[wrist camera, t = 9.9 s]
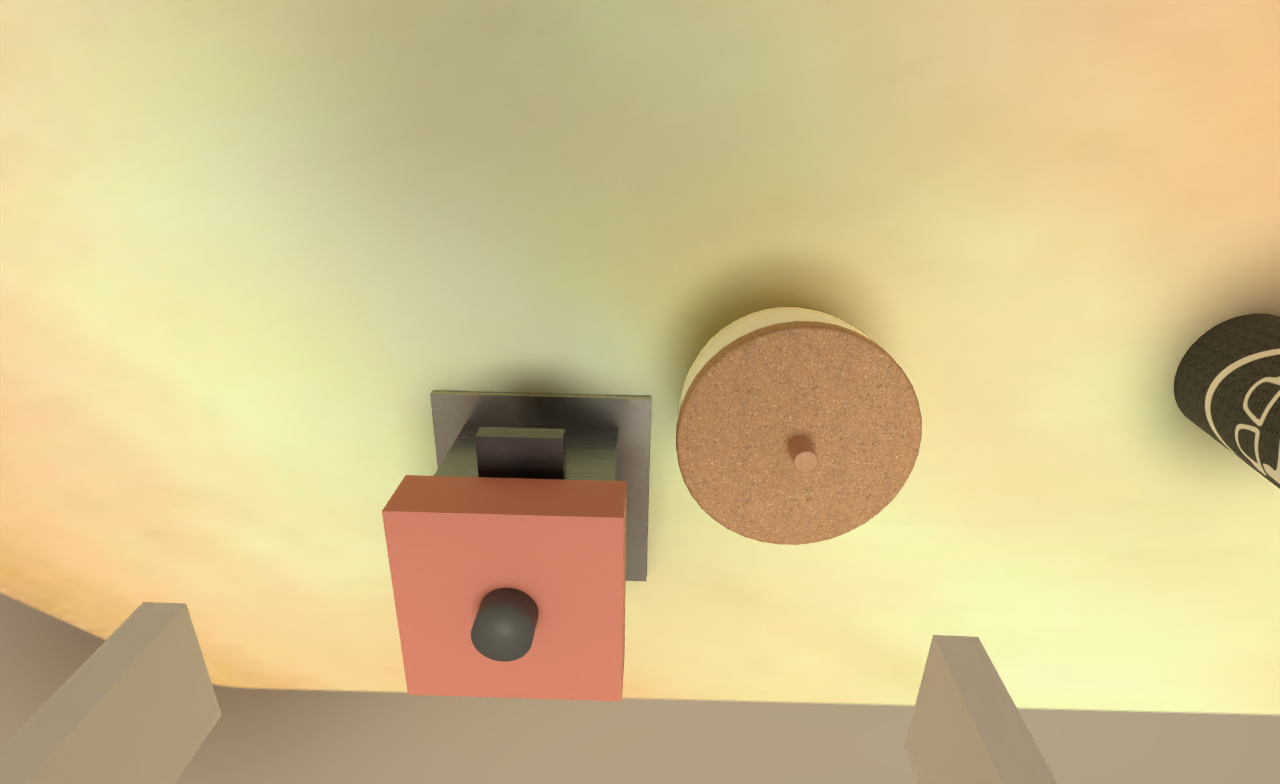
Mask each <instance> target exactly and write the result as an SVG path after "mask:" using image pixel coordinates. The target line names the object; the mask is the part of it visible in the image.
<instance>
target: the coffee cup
mask: <svg viewBox="0 0 1280 784" xmlns="http://www.w3.org/2000/svg"><path fill="white" fill-rule="evenodd" d="M1174 391H1175V398H1176V401H1177V404H1178V406H1179V408H1180V410H1181V411H1182V413H1183V414H1184V415H1185V416H1186V417H1187V418H1188V419H1190V420H1191V421H1192V422H1193V423H1195V424H1196V425H1197V426H1199V427H1200V428H1201V429H1203V430H1204V431H1205V432H1206V433H1208V434H1209V435H1210V436H1212V437H1213V438H1214V439H1216V440H1217V441H1218V442H1220V443H1221V444H1222V445H1223V446H1225V447H1226V448H1227V449H1229V450H1230V451H1231V452H1233V453H1234V454H1235V455H1237V456H1238V457H1239V458H1240V459H1242V460H1243V461H1244V462H1246V463H1247V464H1248V465H1250V466H1251V467H1252V468H1253V469H1255V470H1256V471H1257V472H1259V473H1260V474H1261V475H1263V476H1264V477H1265V478H1267V479H1268V480H1269V481H1270V482H1272V483H1273V484H1274V485H1276V486H1277V487H1278V488H1280V317H1277V316H1273V315H1267V314H1252V315H1245V316H1241V317H1237V318H1234V319H1231V320H1229V321H1226V322H1224V323H1222V324H1220V325H1218V326H1216V327H1215V328H1213V329H1211V330H1210V331H1209V332H1207V333H1206V334H1205V335H1203V336H1202V337H1201V338H1200V339H1199V340H1198V341H1197V342H1196V343H1195V344H1194V345H1193V346H1192V347H1191V348H1190V350H1189V351H1188V352H1187V354H1186V355H1185V357H1184V358H1183V360H1182V362H1181V364H1180V366H1179V368H1178V371H1177V374H1176V378H1175V385H1174Z"/></svg>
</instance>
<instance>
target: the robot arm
mask: <svg viewBox="0 0 1280 784" xmlns="http://www.w3.org/2000/svg"><path fill="white" fill-rule="evenodd" d="M220 717H221V712H220V708H219V705H218V702H217V699H216V696H215V693H214V690H213V686H212V683H211V680H210V677H209V674H208V671H207V668H206V665H205V661H204V658H203V655H202V652H201V649H200V646H199V643H198V639H197V636H196V633H195V630H194V627H193V624H192V621H191V618H190V614H189V611H188V608H187V605H186V604H178V603H155V602H143V603H142V604H141V605H140V606H139V607H138V608H137V609H136V610H135V611H134V612H133V613H132V614H131V615H130V616H129V618H128V619H127V620H126V621H125V622H124V623H123V624H122V625H121V626H120V627H119V628H118V629H117V630H116V631H115V632H114V633H113V634H112V635H111V636H110V637H109V638H108V639H107V640H106V641H105V642H104V643H103V644H102V645H101V646H100V647H99V648H98V649H97V650H96V651H95V652H94V653H93V654H92V655H91V656H90V658H88V659H87V661H85V663H84V664H83V665H82V666H81V667H80V668H79V669H78V670H77V671H76V672H75V673H74V674H73V675H72V676H71V677H70V678H69V679H68V680H67V681H66V682H65V683H64V684H63V685H62V686H61V687H60V688H59V689H58V690H57V691H56V692H55V693H54V694H53V695H52V696H51V697H50V698H49V699H48V700H47V701H46V702H45V703H44V705H42V707H41V708H40V709H39V710H38V711H37V712H36V713H35V714H34V715H33V716H32V717H31V718H30V719H29V720H28V721H27V722H26V723H25V724H24V725H23V726H22V727H21V728H20V729H19V730H18V731H17V732H16V733H15V734H14V735H13V736H12V737H11V738H10V739H9V740H8V741H7V742H6V743H5V744H4V745H3V746H2V747H1V748H0V784H174V783H175V782H176V780H177V779H178V778H179V776H180V775H181V773H182V772H183V770H184V769H185V767H186V766H187V765H188V763H189V762H190V760H191V759H192V757H193V756H194V754H195V753H196V752H197V750H198V748H199V747H200V746H201V744H202V743H203V741H204V740H205V738H206V737H207V736H208V734H209V733H210V731H211V730H212V728H213V727H214V725H215V724H216V722H217V721H218V719H219V718H220ZM905 748H906V751H907V754H908V757H909V760H910V763H911V766H912V768H913V771H914V774H915V777H916V780H917V783H918V784H1058V783H1057V782H1056V779H1055V777H1054V776H1053V774H1052V772H1051V770H1050V768H1049V766H1048V765H1047V763H1046V761H1045V759H1044V757H1043V755H1042V754H1041V752H1040V750H1039V748H1038V746H1037V744H1036V743H1035V741H1034V739H1033V737H1032V735H1031V733H1030V732H1029V730H1028V728H1027V726H1026V724H1025V722H1024V721H1023V719H1022V717H1021V715H1020V713H1019V711H1018V709H1017V708H1016V706H1015V704H1014V702H1013V700H1012V698H1011V697H1010V695H1009V693H1008V691H1007V689H1006V687H1005V686H1004V684H1003V682H1002V680H1001V678H1000V676H999V675H998V673H997V671H996V669H995V667H994V665H993V664H992V662H991V660H990V658H989V656H988V654H987V653H986V651H985V649H984V647H983V645H982V643H981V641H980V640H979V638H978V637H966V636H942V635H933V638H932V642H931V646H930V650H929V654H928V658H927V661H926V665H925V669H924V673H923V677H922V681H921V685H920V689H919V693H918V696H917V700H916V704H915V708H914V712H913V716H912V720H911V724H910V728H909V731H908V735H907V739H906V743H905Z"/></svg>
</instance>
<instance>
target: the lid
mask: <svg viewBox="0 0 1280 784" xmlns="http://www.w3.org/2000/svg"><path fill="white" fill-rule="evenodd" d="M626 493H627V481H596V480H560V479H523V478H486V477H450V476H413V475H406V476H405V477H404V479H403V480H402V482H401V483H400V485H399V486H398V488H397V489H396V491H395V492H394V494H393V495H392V497H391V498H390V500H389V501H388V503H387V504H386V506H385V507H384V509H383V510H382V515H383V522H384V529H385V536H386V543H387V550H388V557H389V564H390V571H391V578H392V585H393V592H394V599H395V606H396V613H397V620H398V627H399V634H400V641H401V648H402V655H403V662H404V669H405V676H406V683H407V690H408V694H411V695H444V696H475V697H476V696H477V697H506V698H540V699H570V700H602V701H622V687H623V670H624V648H625V571H626Z"/></svg>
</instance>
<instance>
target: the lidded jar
mask: <svg viewBox="0 0 1280 784" xmlns="http://www.w3.org/2000/svg"><path fill="white" fill-rule="evenodd" d="M921 426H922V419H921V413H920V408H919V402H918V399H917V397H916V394H915V391H914V389H913V386H912V384H911V383H910V381H909V379H908V378H907V376H906V374H905V373H904V371H903V370H902V368H901V367H900V366H899V365H898V364H897V363H896V362H895V361H894V359H893V358H892V357H891V356H890V355H889V354H888V353H887V352H886V351H885V350H883V349H882V348H881V347H880V346H878V345H877V344H876V343H874V342H873V341H872V340H871V339H870V338H868V337H867V336H866V335H864V334H863V333H862V332H861V331H859V330H858V329H857V328H855V327H853V326H852V325H850V324H848V323H846V322H844V321H842V320H841V319H839V318H837V317H835V316H832V315H829V314H826V313H823V312H820V311H816V310H811V309H805V308H799V307H778V308H771V309H764V310H761V311H758V312H754V313H751V314H748V315H746V316H744V317H742V318H740V319H737V320H735V321H734V322H732V323H731V324H729V325H727V326H726V327H724V328H723V329H721V330H720V331H719V332H718V333H717V334H716V335H715V336H714V337H712V338H711V339H710V340H709V342H708V343H707V344H706V345H705V346H704V348H703V349H702V350H701V351H700V353H699V354H698V356H697V358H696V359H695V361H694V363H693V364H692V366H691V368H690V369H689V372H688V374H687V377H686V380H685V382H684V385H683V389H682V393H681V398H680V403H679V412H678V421H677V429H676V450H677V456H678V463H679V467H680V471H681V474H682V477H683V480H684V482H685V484H686V486H687V488H688V489H689V491H690V493H691V495H692V496H693V498H694V499H695V500H696V502H697V503H698V504H699V505H700V507H701V508H702V509H703V510H704V511H705V512H706V513H707V514H708V515H710V516H711V517H712V518H713V519H714V520H715V521H717V522H718V523H720V524H721V525H723V526H724V527H726V528H727V529H729V530H731V531H733V532H736V533H738V534H740V535H742V536H744V537H748V538H751V539H754V540H758V541H761V542H768V543H774V544H792V545H798V544H806V543H814V542H819V541H823V540H827V539H832V538H834V537H837V536H839V535H842V534H844V533H847V532H849V531H851V530H853V529H855V528H857V527H859V526H861V525H862V524H864V523H866V522H867V521H869V520H870V519H871V518H873V517H874V516H875V515H876V514H878V513H879V512H880V511H881V510H882V509H884V508H885V507H886V506H887V505H888V504H889V503H890V502H891V501H892V500H893V499H894V497H895V496H896V495H897V493H898V492H899V491H900V490H901V488H902V487H903V486H904V484H905V482H906V480H907V479H908V477H909V475H910V473H911V471H912V469H913V467H914V464H915V461H916V458H917V456H918V452H919V447H920V441H921Z"/></svg>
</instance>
